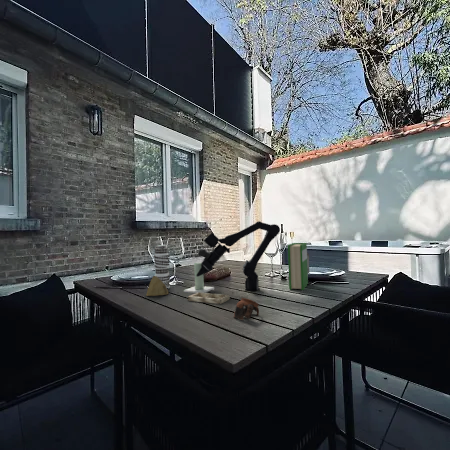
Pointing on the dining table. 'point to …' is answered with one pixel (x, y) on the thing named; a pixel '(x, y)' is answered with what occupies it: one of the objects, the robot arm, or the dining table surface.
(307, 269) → the coffee box
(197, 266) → the round block
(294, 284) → the hardback book
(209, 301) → the frame
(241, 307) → the brown lumpy piece
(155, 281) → the rock
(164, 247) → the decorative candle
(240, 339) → the dining table surface
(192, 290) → the board
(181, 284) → the dining table surface
